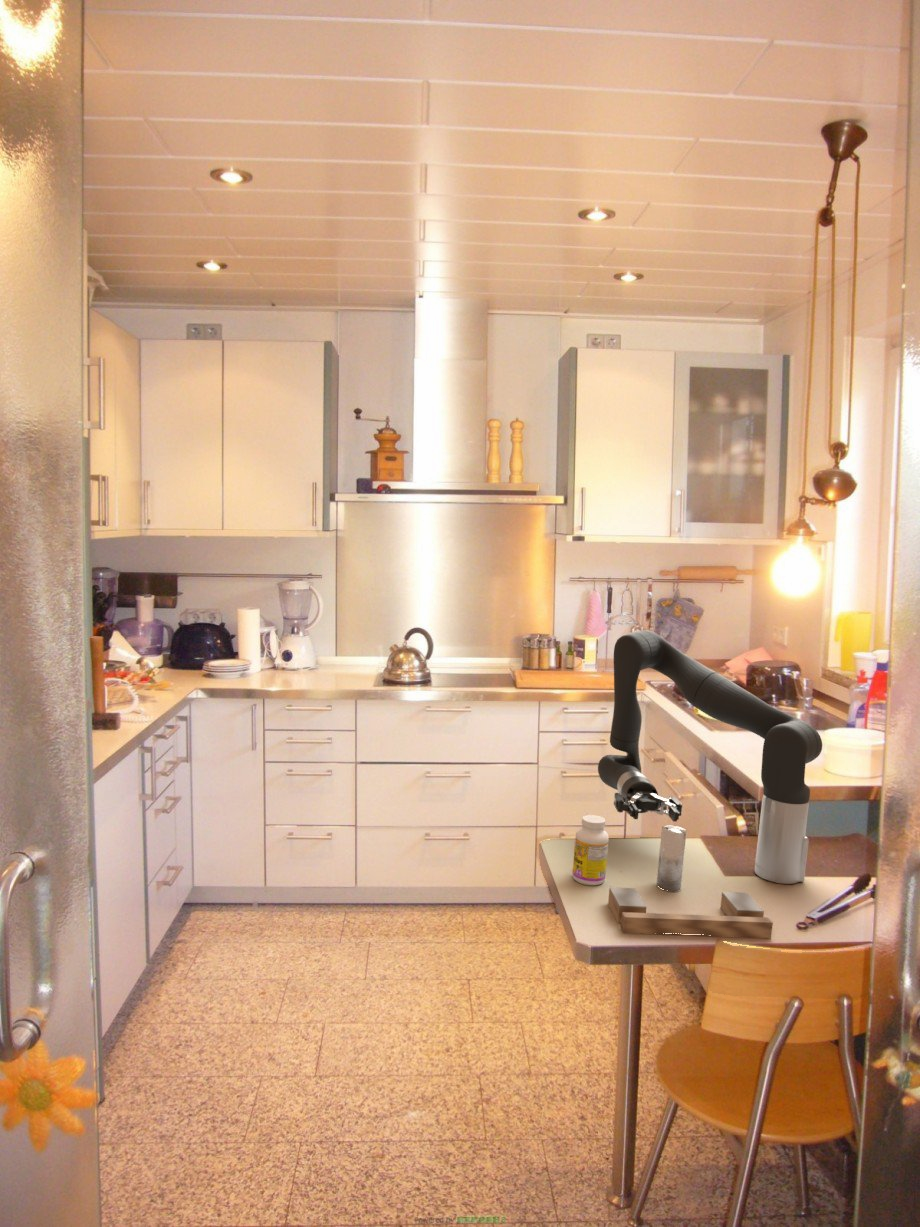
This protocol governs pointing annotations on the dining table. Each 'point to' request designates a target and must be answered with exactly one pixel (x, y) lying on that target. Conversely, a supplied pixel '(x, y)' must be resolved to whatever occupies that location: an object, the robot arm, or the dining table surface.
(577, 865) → the supplement bottle
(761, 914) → the rail with metal-top blocks
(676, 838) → the link pin
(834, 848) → the dining table surface
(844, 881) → the dining table surface
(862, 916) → the dining table surface
